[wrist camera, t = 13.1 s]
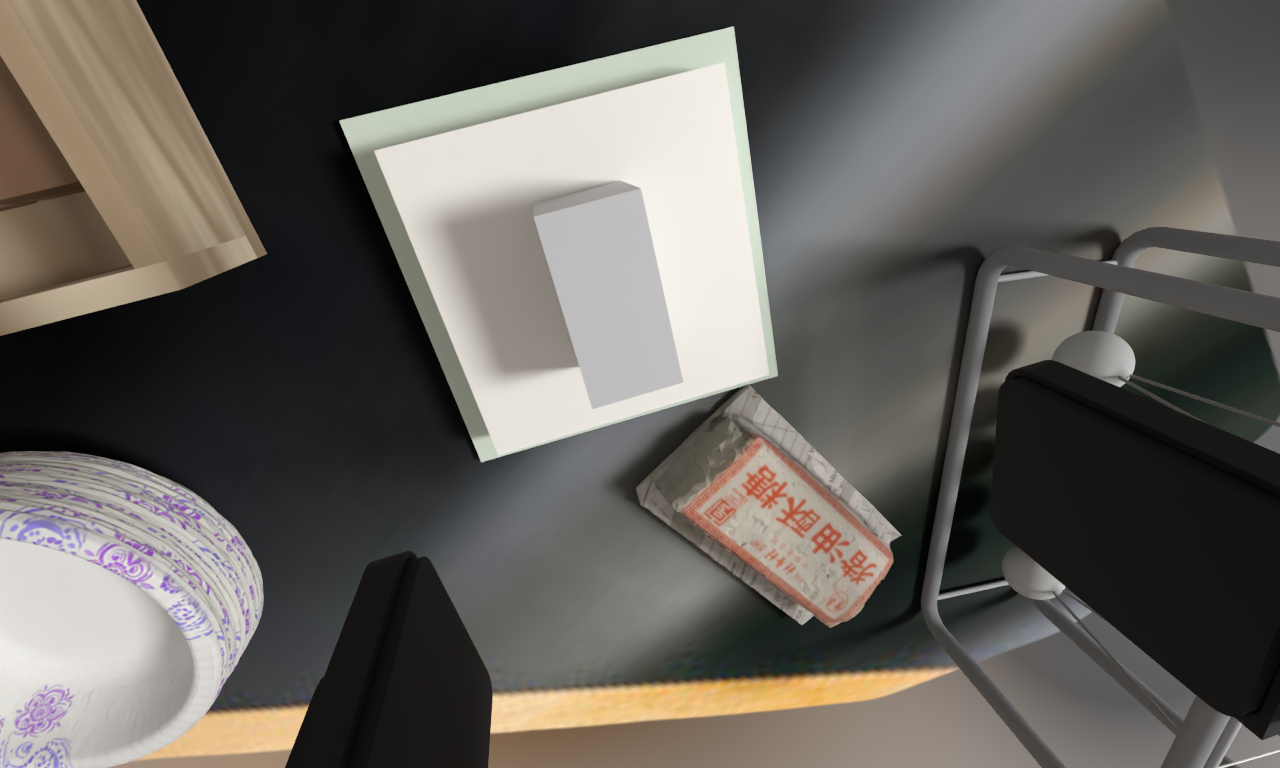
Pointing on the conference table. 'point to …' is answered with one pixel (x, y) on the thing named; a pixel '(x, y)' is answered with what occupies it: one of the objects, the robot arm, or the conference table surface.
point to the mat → (522, 98)
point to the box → (102, 167)
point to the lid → (588, 254)
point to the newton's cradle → (1204, 732)
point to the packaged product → (773, 512)
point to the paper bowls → (112, 609)
